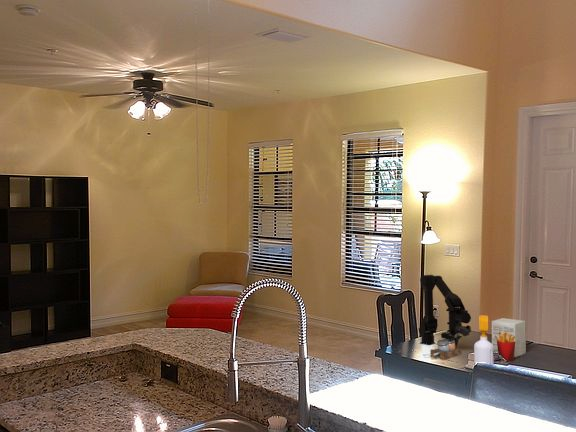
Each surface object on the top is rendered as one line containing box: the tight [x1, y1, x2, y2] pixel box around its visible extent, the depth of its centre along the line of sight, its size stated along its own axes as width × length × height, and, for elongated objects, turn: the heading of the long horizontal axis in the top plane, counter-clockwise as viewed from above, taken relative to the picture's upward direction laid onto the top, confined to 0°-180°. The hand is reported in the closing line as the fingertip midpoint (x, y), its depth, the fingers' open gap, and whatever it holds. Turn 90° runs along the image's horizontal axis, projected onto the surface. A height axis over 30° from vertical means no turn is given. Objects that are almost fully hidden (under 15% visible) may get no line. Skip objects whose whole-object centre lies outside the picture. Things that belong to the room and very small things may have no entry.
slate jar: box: [436, 338, 450, 352], centre depth 305 cm, size 6×6×7 cm
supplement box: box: [491, 317, 527, 358], centre depth 311 cm, size 13×13×18 cm
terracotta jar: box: [446, 339, 457, 351], centre depth 309 cm, size 6×6×7 cm
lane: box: [429, 347, 462, 361], centre depth 307 cm, size 17×9×4 cm, turn 135°
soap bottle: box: [473, 314, 495, 364], centre depth 286 cm, size 9×9×25 cm
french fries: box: [495, 331, 515, 362], centre depth 295 cm, size 9×8×15 cm
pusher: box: [433, 348, 447, 358], centre depth 301 cm, size 7×6×4 cm
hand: (454, 349), depth 313 cm, fingers closed
